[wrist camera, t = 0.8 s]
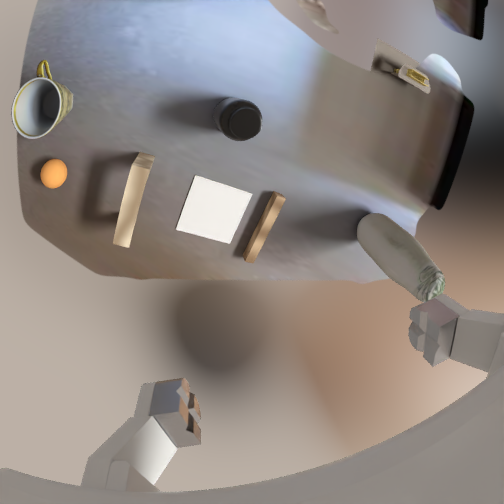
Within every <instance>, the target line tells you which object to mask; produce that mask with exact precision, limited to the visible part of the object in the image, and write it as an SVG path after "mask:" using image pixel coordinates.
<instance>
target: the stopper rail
mask: <svg viewBox="0 0 504 504" xmlns="http://www.w3.org/2000/svg"><path fill="white" fill-rule="evenodd" d="M285 200H286V198H285V197H284V196H283V195H282V194H280V193H277V192H274V191H273V194H272V196H271V198H270V200H269V202H268V204H267V206H266V208H265V210H264V212H263V214H262V216H261V218H260V220H259V222H258V225H257V227H256V229H255V231H254V233H253V235H252V237H251V239H250V241H249V243H248V245H247V247H246V249H245V251H244V254H243V257H244V260H245V261H246V262H250V263H254V261H255V259H256V257H257V255H258V253H259V251H260V249H261V247H262V245H263V243H264V241H265V239H266V237H267V235H268V233H269V231H270V229H271V227H272V226H273V224H274V222H275V220H276V218H277V216H278V214H279V212H280V210H281V208H282V206H283V204H284V202H285Z"/></svg>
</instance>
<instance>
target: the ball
mask: <svg viewBox="0 0 504 504" xmlns="http://www.w3.org/2000/svg"><path fill="white" fill-rule="evenodd" d="M66 177H67V168H66V165H65V164H64V162H62V161H61V160H59V159H51V160H49V161H47V162H46V163H45V164H44V166H43V167H42V170H41V180H42V182H43V184H44V185H45V186H46V187H48V188H57V187H59V186H61V185H62V184H63V183H64V181H65V179H66Z"/></svg>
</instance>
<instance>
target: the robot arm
mask: <svg viewBox="0 0 504 504" xmlns="http://www.w3.org/2000/svg"><path fill="white" fill-rule="evenodd" d="M410 319H411V320H412V323H411V325H410V327H409V339H410V342H411V344H412V346H413V347H414V348H415V349H416V350H418V351H422V352H423V357H424V358H425V359H426V360H427V361H428V362H429V363H430V364H431V365H432V366H435V365H437V364H439V363H441V362H443V361H444V360H446V359H448V358H450V359H452V360H455V361H458V362H461V363H463V364H466V365H469V366H472V367H475V368H477V369H480V370H483V371H486V372H488V375H487V377H486V379H485V380H484V381H483V382H481V383H480V384H479V385H478V386H476V387H475V388H474V389H472V390H471V391H469V392H468V393H467V394H465V395H464V396H462V397H461V398H459V399H458V400H456V401H455V402H454V403H452V404H450V405H449V406H447V407H446V408H444V409H443V410H441V411H439V412H438V413H436V414H434V415H433V416H431V417H429V418H428V419H426V420H424V421H422V422H421V423H419V424H417V425H415V426H413V427H411V428H410V429H408V430H406V431H404V432H402V433H400V434H398V435H396V436H394V437H392V438H390V439H388V440H386V441H383V442H381V443H379V444H377V445H375V446H372V447H370V448H368V449H365V450H363V451H361V452H358V453H356V454H353V455H350V456H348V457H345V458H343V459H340V460H337V461H334V462H331V463H329V464H325V465H322V466H319V467H316V468H313V469H310V470H306V471H303V472H299V473H296V474H292V475H288V476H284V477H280V478H276V479H271V480H266V481H262V482H257V483H251V484H246V485H239V486H233V487H226V488H218V489H209V490H198V491H183V492H161V491H160V490H159V489H157V488H156V487H155V486H154V484H155V482H156V481H157V479H158V478H159V476H160V475H161V473H162V472H163V470H164V469H165V467H166V466H167V464H168V463H169V461H170V460H171V458H172V457H173V455H174V454H175V452H176V450H177V448H178V447H185V446H193V445H199V444H201V429H200V427H199V426H198V422H199V421H200V419H201V413H200V408H199V404H198V401H197V399H196V397H195V395H194V394H192V393H190V385H189V384H188V382H187V380H186V379H185V378H180V379H173V380H166V381H159V382H153V383H145V384H143V385H142V386H141V390H140V394H139V398H138V402H137V406H136V410H135V414H134V417H132V418H129V419H128V420H127V421H126V422H125V423H124V424H123V425H122V426H121V427H120V428H119V429H118V430H117V431H116V432H115V433H114V434H113V435H112V436H111V437H110V438H109V439H108V440H107V441H106V442H105V443H104V444H102V445H101V446H100V447H99V448H98V449H97V450H96V451H95V452H94V453H93V454H92V455H91V456H90V457H89V458H88V461H87V464H86V468H85V472H84V475H83V479H82V483H81V486H76V485H70V484H65V483H60V482H55V481H51V480H47V479H42V478H39V477H35V476H31V475H28V474H24V473H21V472H18V471H15V470H12V469H8V468H2V469H0V504H504V314H501V313H494V312H488V311H480V310H474V309H472V310H470V311H469V310H468V309H466V308H465V307H464V306H462V305H460V304H459V303H458V302H456V301H454V300H453V299H451V298H450V297H449V296H447V295H445V294H440V295H438V296H436V297H434V298H432V299H431V300H428V301H426V302H424V303H422V304H420V305H418V306H415V307H413V308H412V309H411V311H410Z"/></svg>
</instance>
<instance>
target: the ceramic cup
mask: <svg viewBox="0 0 504 504" xmlns="http://www.w3.org/2000/svg"><path fill="white" fill-rule="evenodd" d="M43 64H45V69H46V73H47V76H48V78H46V77H45V76H44V73H43ZM72 104H73V94H72V93H71V91H70V90H69V89H68V88H67V87H66V86H64V85H62V84H60V83H57V82H56V81H54V80H52V77H51V74H50V71H49V66H48V62H47V61H46V60H43V61H41V62H40V63H39V65H38V67H37V78H34V79H31V80H29V81H28V82H26V83H25V84H24V85H23V86H22V87H21V88H20V89H19V91H18V92H17V94H16V96H15V98H14V101H13V105H12V112H11V115H12V122H13V125H14V127H15V129H16V130H17V132H18V133H19V134H20V135H22V136H23V137H25V138H29V139H36V138H40V137H42V136H44V135H46V134H47V133H48V132H50V131H51V130H52V129H53V128H54V127H55V126H56V125H57V124H58V123H59V122H60V121H61V120H62V119H64V117H65V116H66V115H67V114H68V113H69V111H70V110H71V109H72Z"/></svg>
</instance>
